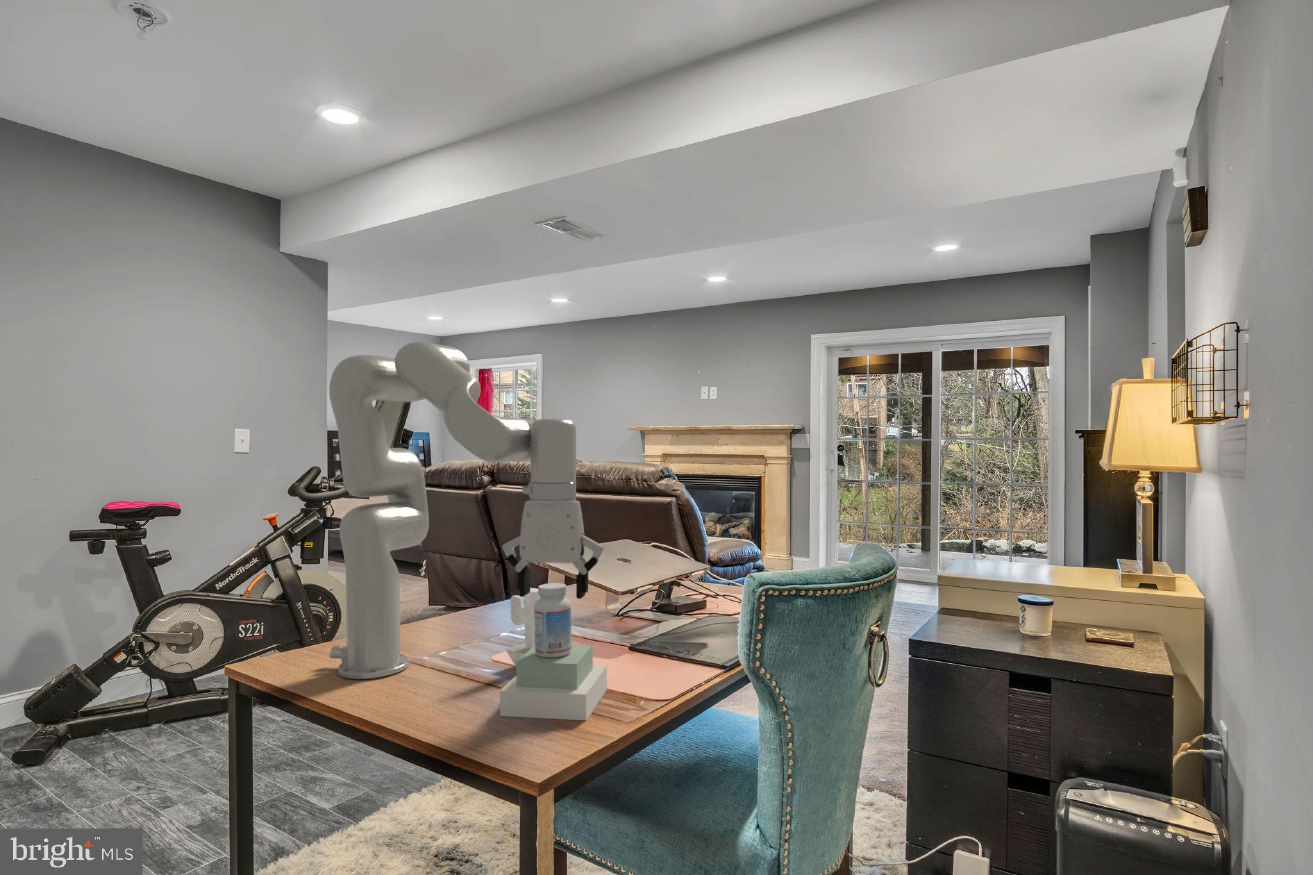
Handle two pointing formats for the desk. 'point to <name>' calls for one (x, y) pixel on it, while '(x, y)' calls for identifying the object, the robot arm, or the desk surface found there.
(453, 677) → the desk surface
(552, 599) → the pill bottle
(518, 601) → the figurine
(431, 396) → the robot arm
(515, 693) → the base block
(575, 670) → the top block
